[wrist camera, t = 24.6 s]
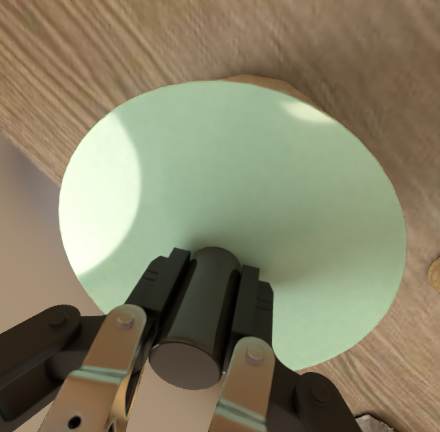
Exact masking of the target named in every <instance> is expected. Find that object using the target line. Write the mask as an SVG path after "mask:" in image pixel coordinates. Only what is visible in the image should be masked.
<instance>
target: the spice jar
mask: <svg viewBox="0 0 440 432" xmlns="http://www.w3.org/2000/svg"><path fill="white" fill-rule="evenodd" d="M428 279H429V282H430V283H431V285H432V286H433V287H434V288H436V289H437V291H438V292H439V294H440V257H439V258H437V259H436V260H435V261H434V262H433V263H432V264H431V266H430V268H429V270H428Z"/></svg>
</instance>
